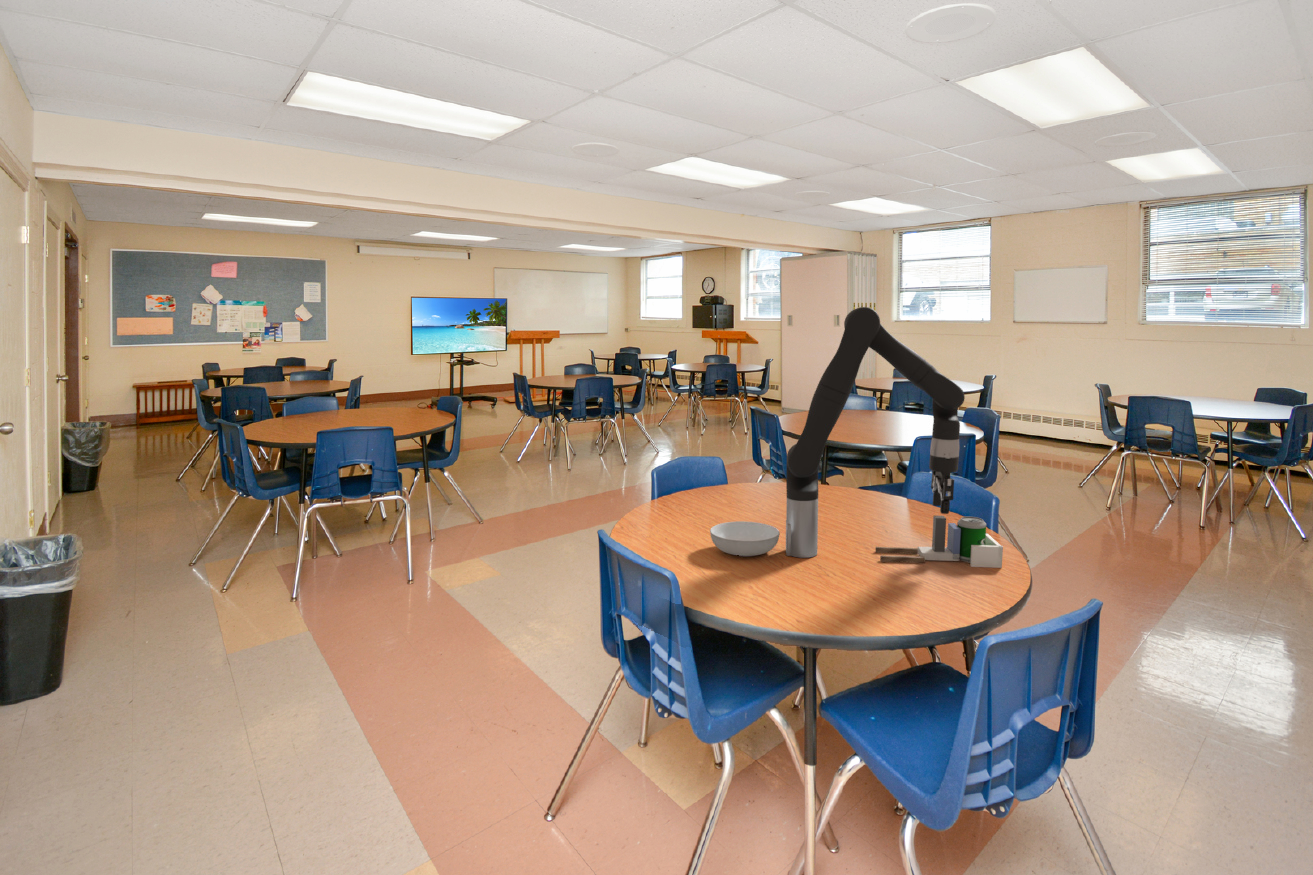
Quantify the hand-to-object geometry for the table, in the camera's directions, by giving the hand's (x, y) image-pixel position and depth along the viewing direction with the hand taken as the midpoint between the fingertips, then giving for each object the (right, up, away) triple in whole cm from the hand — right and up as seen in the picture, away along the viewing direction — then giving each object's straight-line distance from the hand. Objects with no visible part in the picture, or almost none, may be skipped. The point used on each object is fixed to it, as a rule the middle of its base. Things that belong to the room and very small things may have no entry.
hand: (940, 509), depth 192 cm
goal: (+11, -15, +1) cm, 18 cm away
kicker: (0, -14, +2) cm, 15 cm away
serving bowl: (-55, -14, +12) cm, 58 cm away
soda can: (+9, -15, +1) cm, 17 cm away
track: (-10, -14, +4) cm, 18 cm away
